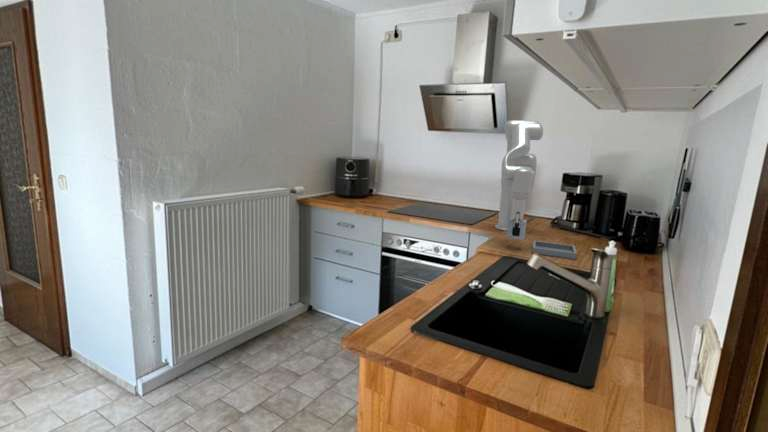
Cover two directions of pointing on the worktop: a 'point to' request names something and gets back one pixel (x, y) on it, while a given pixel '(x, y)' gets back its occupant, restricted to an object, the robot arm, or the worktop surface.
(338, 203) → the worktop surface
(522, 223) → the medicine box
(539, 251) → the tray
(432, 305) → the worktop surface
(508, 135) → the robot arm
